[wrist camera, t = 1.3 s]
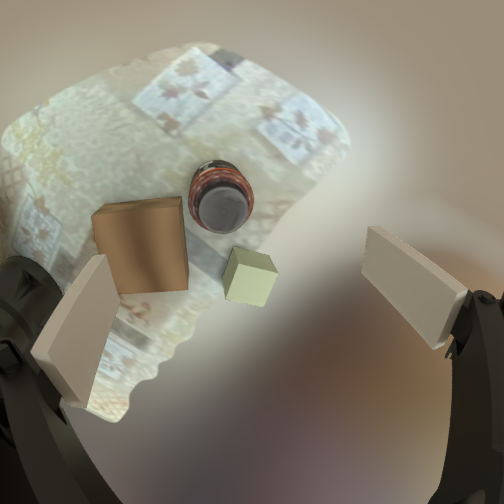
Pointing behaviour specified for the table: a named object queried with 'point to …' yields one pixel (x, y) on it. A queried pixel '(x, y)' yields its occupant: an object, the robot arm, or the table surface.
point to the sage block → (248, 277)
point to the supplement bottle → (220, 197)
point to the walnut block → (144, 244)
